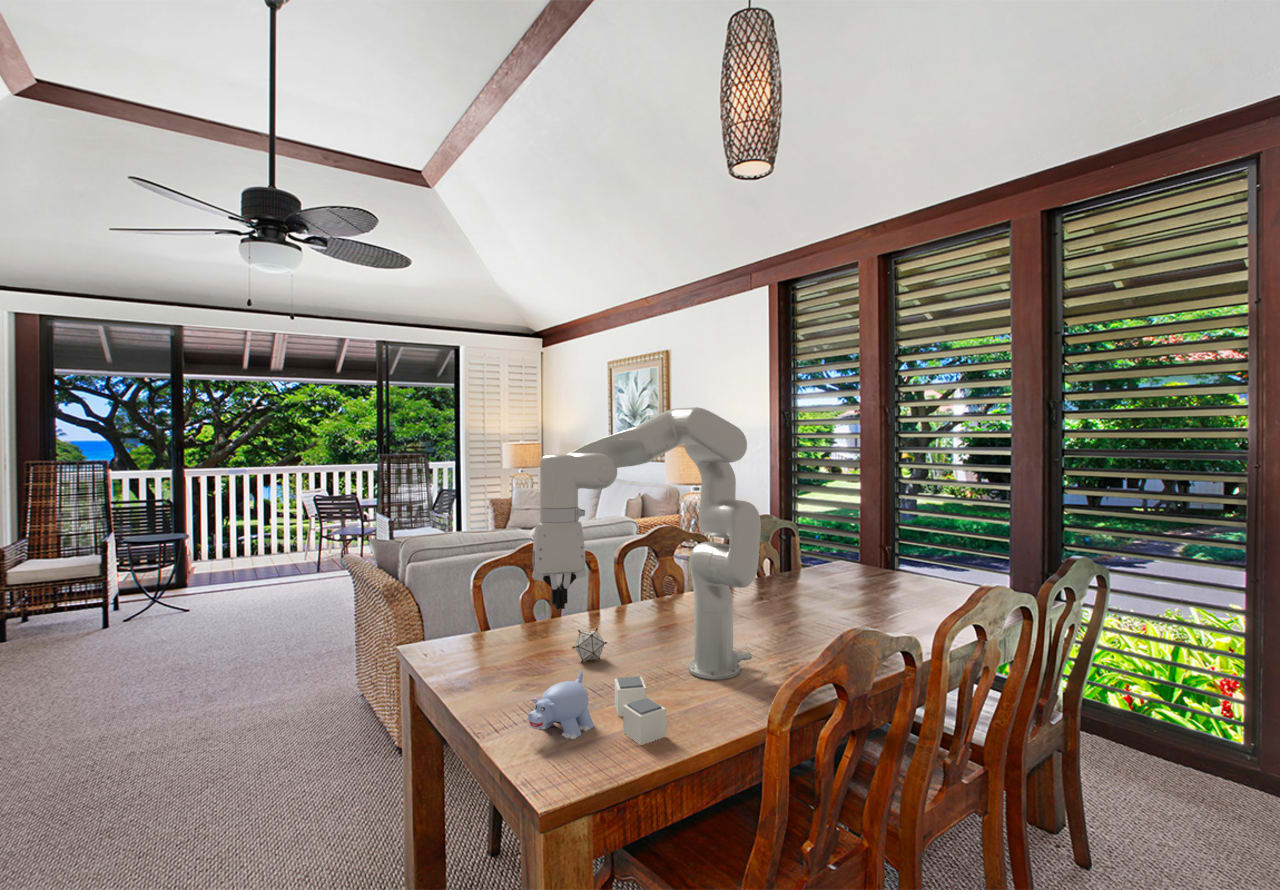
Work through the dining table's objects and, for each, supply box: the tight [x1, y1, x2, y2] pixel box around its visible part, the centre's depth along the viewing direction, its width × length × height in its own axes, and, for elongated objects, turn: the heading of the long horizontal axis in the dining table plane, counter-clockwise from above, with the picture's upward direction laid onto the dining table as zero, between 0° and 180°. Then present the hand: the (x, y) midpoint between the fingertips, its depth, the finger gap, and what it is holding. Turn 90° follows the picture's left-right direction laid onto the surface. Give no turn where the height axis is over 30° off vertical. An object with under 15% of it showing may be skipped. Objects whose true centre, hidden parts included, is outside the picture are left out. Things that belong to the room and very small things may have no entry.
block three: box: [613, 675, 647, 717], centre depth 133 cm, size 6×6×6 cm
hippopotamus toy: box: [527, 669, 595, 740], centre depth 124 cm, size 11×15×10 cm
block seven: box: [622, 697, 667, 746], centre depth 121 cm, size 6×6×6 cm
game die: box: [571, 627, 608, 664], centre depth 162 cm, size 9×8×10 cm
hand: (559, 607), depth 125 cm, fingers closed
